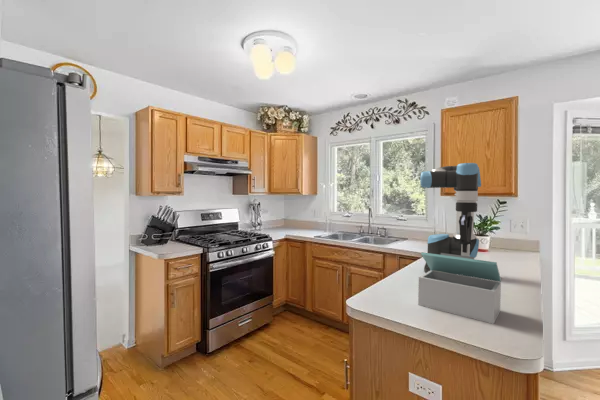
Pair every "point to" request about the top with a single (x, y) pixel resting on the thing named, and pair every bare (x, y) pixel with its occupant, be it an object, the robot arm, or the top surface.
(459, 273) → the cover
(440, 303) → the gray storage box
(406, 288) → the top surface
